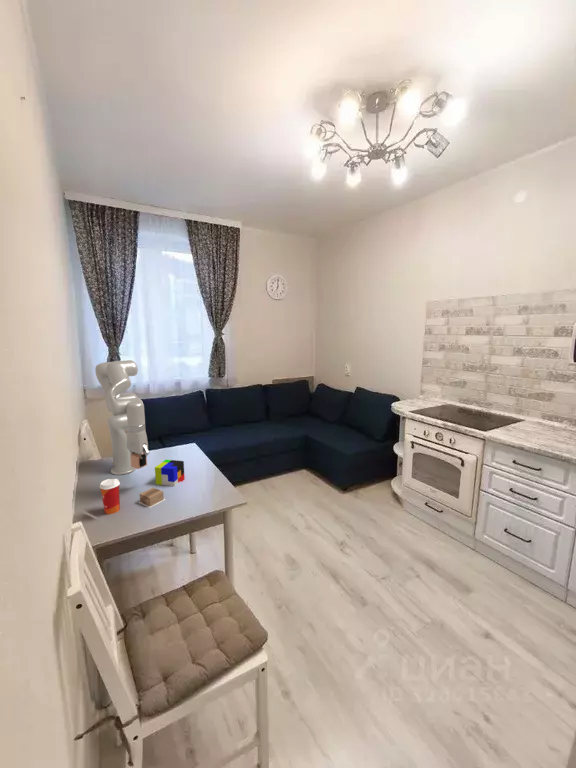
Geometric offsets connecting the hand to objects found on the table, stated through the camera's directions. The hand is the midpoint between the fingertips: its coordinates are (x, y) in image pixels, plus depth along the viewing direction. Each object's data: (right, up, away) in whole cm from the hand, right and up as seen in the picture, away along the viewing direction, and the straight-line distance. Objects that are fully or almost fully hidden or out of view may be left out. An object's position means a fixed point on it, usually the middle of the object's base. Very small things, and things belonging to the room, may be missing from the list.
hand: (139, 463), depth 166 cm
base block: (+10, -14, -10) cm, 20 cm away
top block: (0, -1, 0) cm, 1 cm away
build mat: (+9, -15, -8) cm, 19 cm away
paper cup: (-4, -17, -17) cm, 25 cm away
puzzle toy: (+12, -12, +10) cm, 20 cm away
